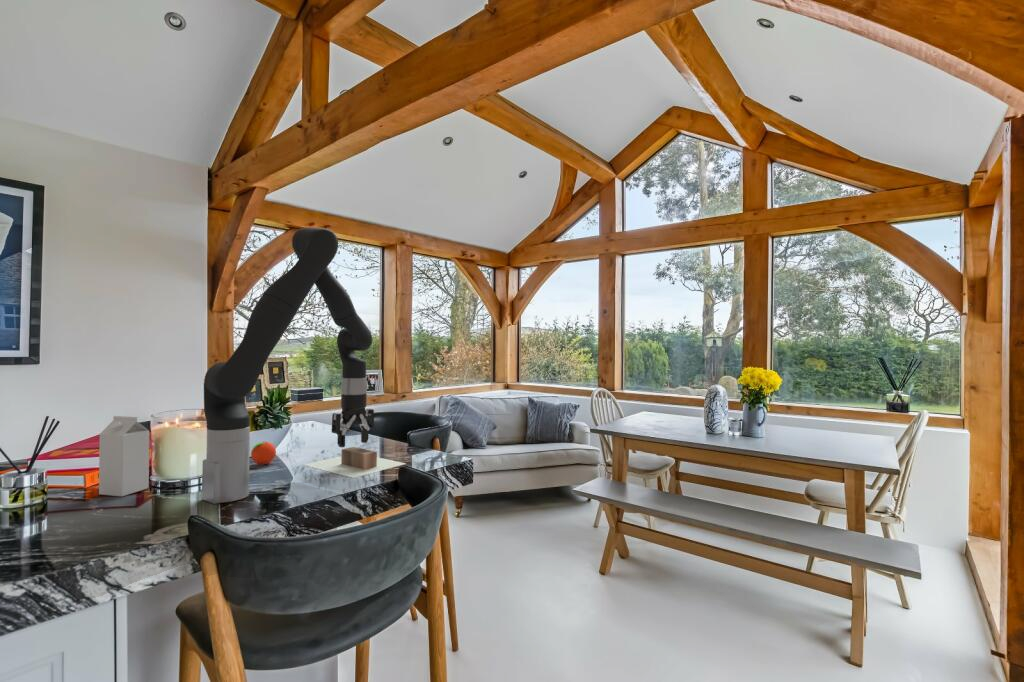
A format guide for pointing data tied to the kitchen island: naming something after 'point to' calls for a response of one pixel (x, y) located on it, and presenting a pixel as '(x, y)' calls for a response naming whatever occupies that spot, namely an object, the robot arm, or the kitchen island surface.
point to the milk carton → (123, 457)
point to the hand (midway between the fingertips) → (353, 444)
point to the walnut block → (359, 458)
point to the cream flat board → (338, 468)
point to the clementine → (263, 453)
